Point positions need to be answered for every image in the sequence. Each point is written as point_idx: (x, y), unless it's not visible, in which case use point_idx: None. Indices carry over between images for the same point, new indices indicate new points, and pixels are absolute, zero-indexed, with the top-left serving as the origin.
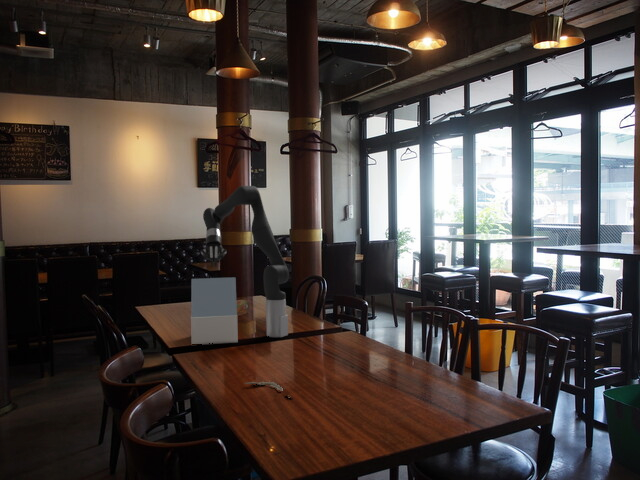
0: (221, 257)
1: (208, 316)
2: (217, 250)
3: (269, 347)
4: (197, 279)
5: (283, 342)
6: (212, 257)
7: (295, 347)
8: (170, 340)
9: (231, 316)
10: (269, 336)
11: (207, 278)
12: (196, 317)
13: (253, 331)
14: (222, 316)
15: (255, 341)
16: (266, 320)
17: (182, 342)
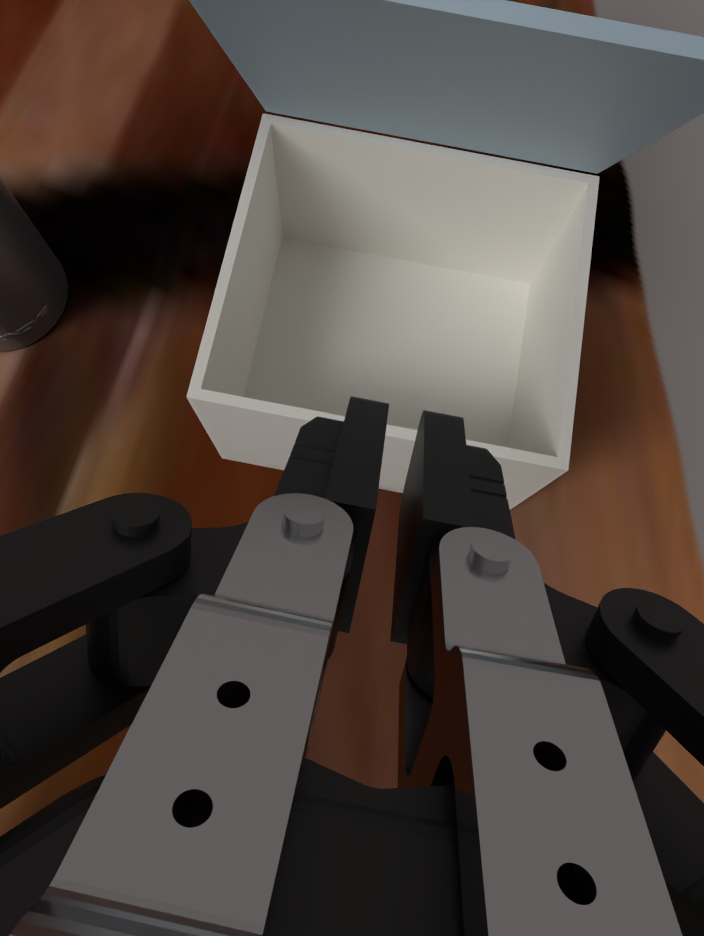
0: (51, 667)
1: (474, 148)
2: (78, 891)
3: (152, 79)
4: (691, 39)
5: (43, 135)
6: (448, 529)
7: (32, 30)
8: (652, 444)
9: (305, 124)
10: (62, 268)
11: (556, 12)
12: (559, 173)
13: (97, 461)
14: (371, 134)
15: (177, 215)
16: (22, 248)
17: (581, 365)
